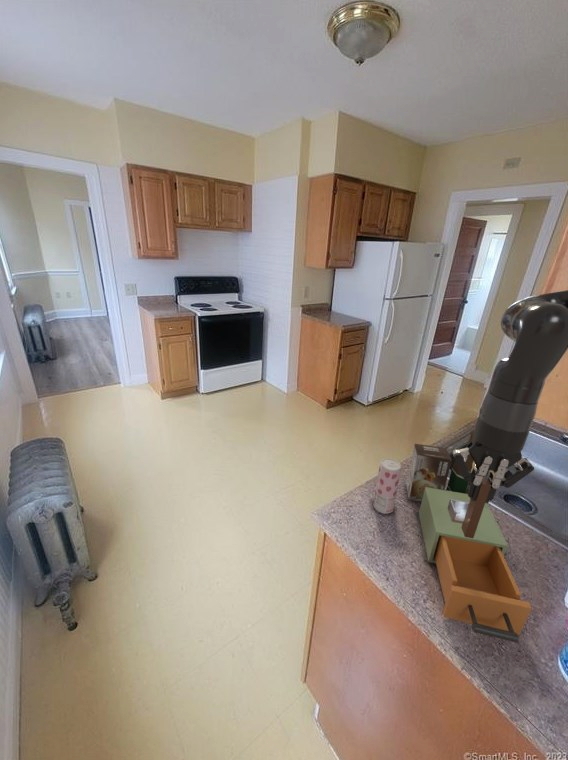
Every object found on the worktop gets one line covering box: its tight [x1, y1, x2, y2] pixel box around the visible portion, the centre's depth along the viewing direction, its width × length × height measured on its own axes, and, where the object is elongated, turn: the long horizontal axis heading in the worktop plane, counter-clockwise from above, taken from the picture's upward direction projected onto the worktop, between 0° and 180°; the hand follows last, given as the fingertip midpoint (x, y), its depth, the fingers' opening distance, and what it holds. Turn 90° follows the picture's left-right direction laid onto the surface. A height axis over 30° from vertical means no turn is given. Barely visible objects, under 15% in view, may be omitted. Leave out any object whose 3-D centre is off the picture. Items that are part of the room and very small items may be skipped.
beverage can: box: [372, 457, 402, 515], centre depth 90 cm, size 6×6×15 cm
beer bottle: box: [445, 429, 475, 494], centre depth 91 cm, size 8×8×24 cm
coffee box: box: [406, 443, 453, 503], centre depth 94 cm, size 9×6×16 cm
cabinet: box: [418, 487, 509, 565], centre depth 80 cm, size 16×15×10 cm
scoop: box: [448, 476, 491, 538], centre depth 64 cm, size 5×8×13 cm, turn 167°
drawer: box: [434, 535, 533, 643], centre depth 66 cm, size 19×13×8 cm
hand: (478, 498), depth 61 cm, fingers closed on scoop, 1 cm apart
